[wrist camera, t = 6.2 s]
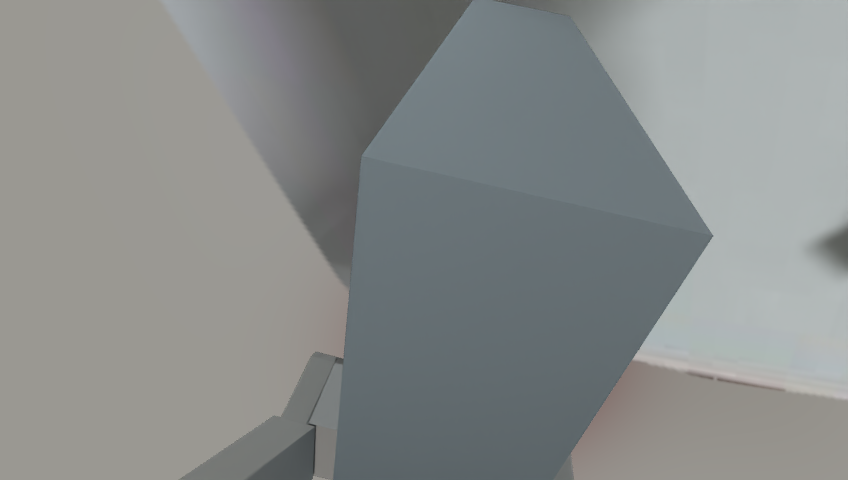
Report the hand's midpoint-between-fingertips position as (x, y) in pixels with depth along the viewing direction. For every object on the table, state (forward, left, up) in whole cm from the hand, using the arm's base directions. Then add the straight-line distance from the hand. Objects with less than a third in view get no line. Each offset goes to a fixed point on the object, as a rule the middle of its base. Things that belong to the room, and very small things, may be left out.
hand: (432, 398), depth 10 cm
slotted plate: (0, 0, -7) cm, 7 cm away
